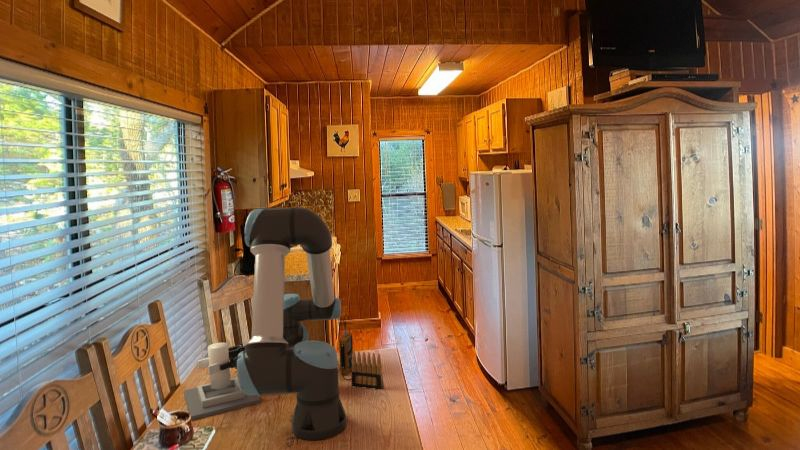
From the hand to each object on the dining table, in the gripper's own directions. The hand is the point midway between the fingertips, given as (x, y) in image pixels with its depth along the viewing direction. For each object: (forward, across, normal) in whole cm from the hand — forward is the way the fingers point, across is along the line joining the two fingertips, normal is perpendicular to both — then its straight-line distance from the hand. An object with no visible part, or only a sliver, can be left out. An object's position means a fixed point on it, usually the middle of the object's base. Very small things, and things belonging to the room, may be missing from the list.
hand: (203, 367), depth 146 cm
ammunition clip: (-39, -32, -12) cm, 52 cm away
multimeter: (-45, -20, -12) cm, 51 cm away
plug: (-5, 0, -8) cm, 9 cm away
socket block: (-5, 0, -12) cm, 13 cm away
